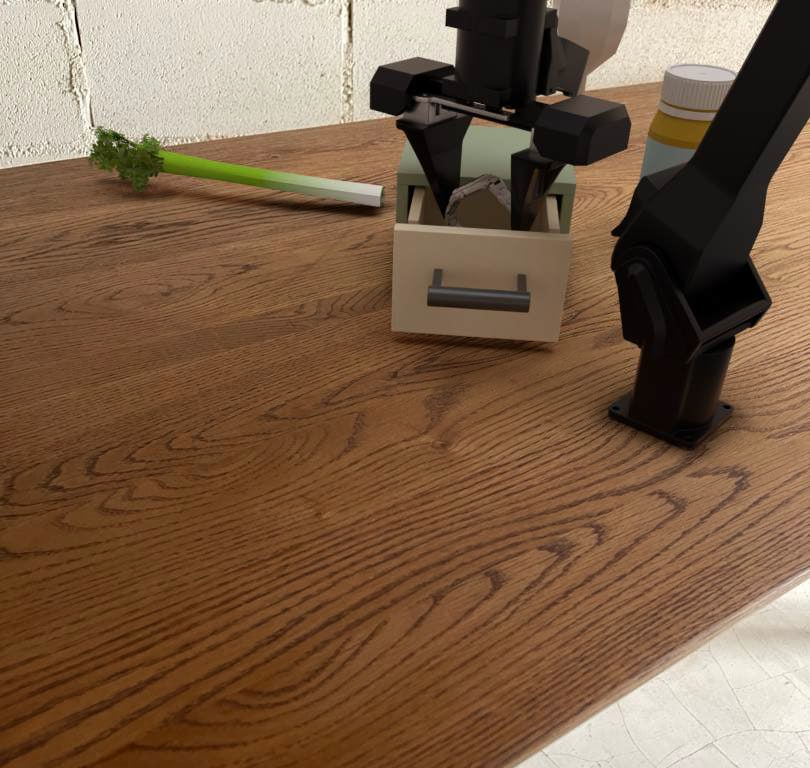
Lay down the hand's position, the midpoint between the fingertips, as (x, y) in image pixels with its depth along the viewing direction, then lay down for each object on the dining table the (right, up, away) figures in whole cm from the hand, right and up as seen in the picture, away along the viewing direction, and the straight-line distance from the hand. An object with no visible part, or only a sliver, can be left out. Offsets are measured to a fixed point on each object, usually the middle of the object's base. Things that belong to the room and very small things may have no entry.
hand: (483, 229), depth 69 cm
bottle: (+19, +4, +18) cm, 26 cm away
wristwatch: (0, -1, +1) cm, 1 cm away
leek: (-23, +11, +24) cm, 35 cm away
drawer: (0, -5, +3) cm, 6 cm away
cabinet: (+1, +1, +13) cm, 13 cm away
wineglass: (+14, +25, +42) cm, 51 cm away
